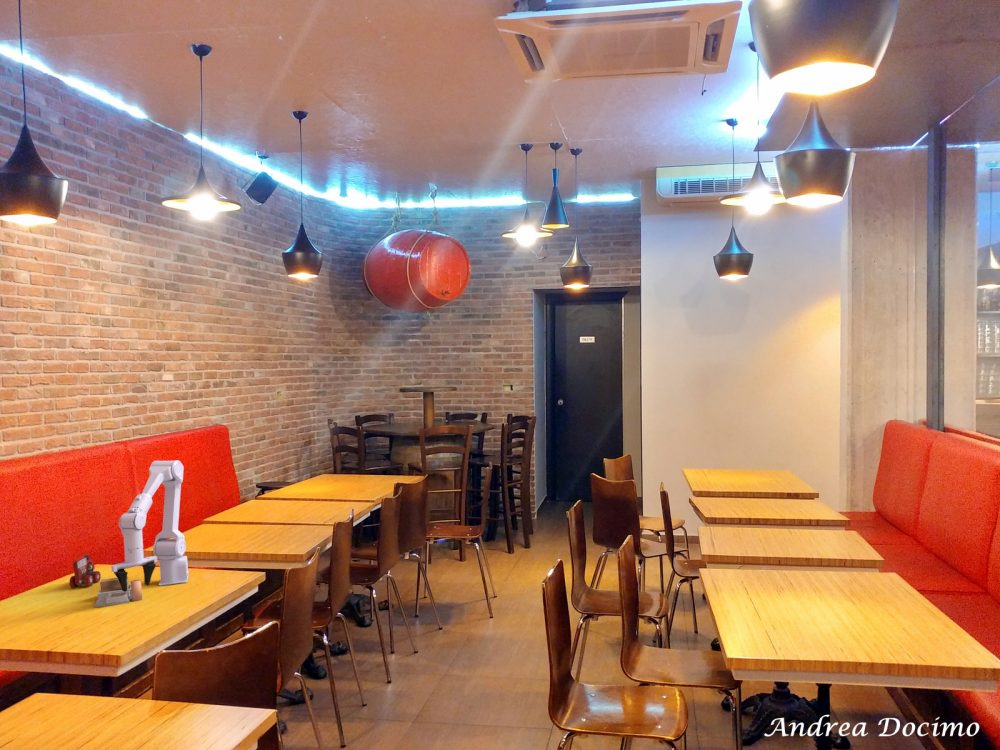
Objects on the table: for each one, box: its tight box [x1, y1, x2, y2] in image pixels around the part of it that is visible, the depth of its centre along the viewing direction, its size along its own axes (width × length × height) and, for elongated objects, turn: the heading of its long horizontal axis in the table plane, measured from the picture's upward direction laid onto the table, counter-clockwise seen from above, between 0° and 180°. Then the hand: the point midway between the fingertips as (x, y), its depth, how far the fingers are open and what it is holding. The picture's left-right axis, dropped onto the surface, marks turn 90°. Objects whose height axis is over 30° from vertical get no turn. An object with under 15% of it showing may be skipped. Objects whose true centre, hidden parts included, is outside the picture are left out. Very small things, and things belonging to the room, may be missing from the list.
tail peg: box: [130, 579, 143, 602], centre depth 264 cm, size 3×3×6 cm
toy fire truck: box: [68, 554, 101, 588], centre depth 285 cm, size 7×12×10 cm, turn 0°
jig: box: [93, 583, 132, 608], centre depth 266 cm, size 10×14×3 cm
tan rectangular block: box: [99, 575, 130, 593], centre depth 269 cm, size 8×3×5 cm, turn 108°
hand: (136, 588), depth 264 cm, fingers open, 7 cm apart
